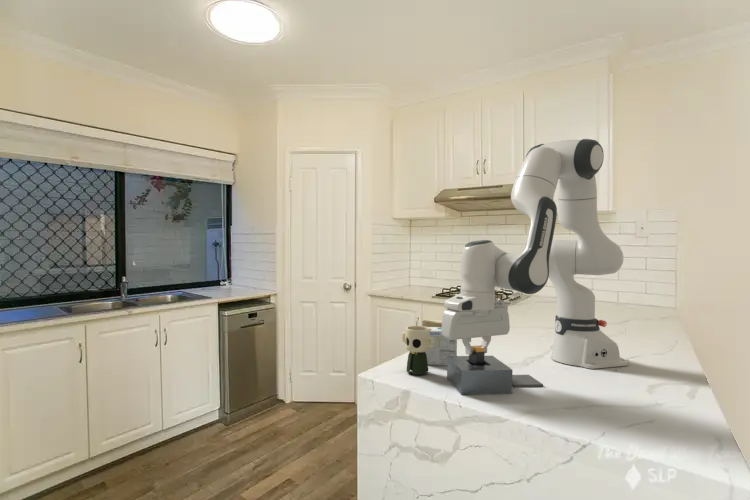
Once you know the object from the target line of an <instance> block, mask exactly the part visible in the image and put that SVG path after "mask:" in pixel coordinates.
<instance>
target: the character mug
mask: <svg viewBox="0 0 750 500" xmlns="http://www.w3.org/2000/svg"><path fill="white" fill-rule="evenodd" d="M429 327H430V326H425V325H409V326H406V327H405V331H402V337H401V338H402V340H401V341H402V342H403V343H404V346H405V349H406V350H407V351H408V352H409V353H408V355H407V356H408V357H407V361H406V372H407V373H408V374H410V373H411V372H412V375H424V374H425V373H428V372H429V365H428V363H427V355H426V353H425V352H426V351H429V349H430V348H434V338H433V337H431V336H430V328H429ZM430 340H431V345H430Z"/></svg>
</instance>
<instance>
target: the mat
mask: <svg viewBox="0 0 750 500" xmlns="http://www.w3.org/2000/svg"><path fill="white" fill-rule="evenodd" d="M531 387H532V388H534V387H537V388H539V387H540V388H541V387H544V383H542V382H540V381H539V380H537V379H536V378H534V377H533V376H531V375H530V374H512V388H531Z"/></svg>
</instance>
